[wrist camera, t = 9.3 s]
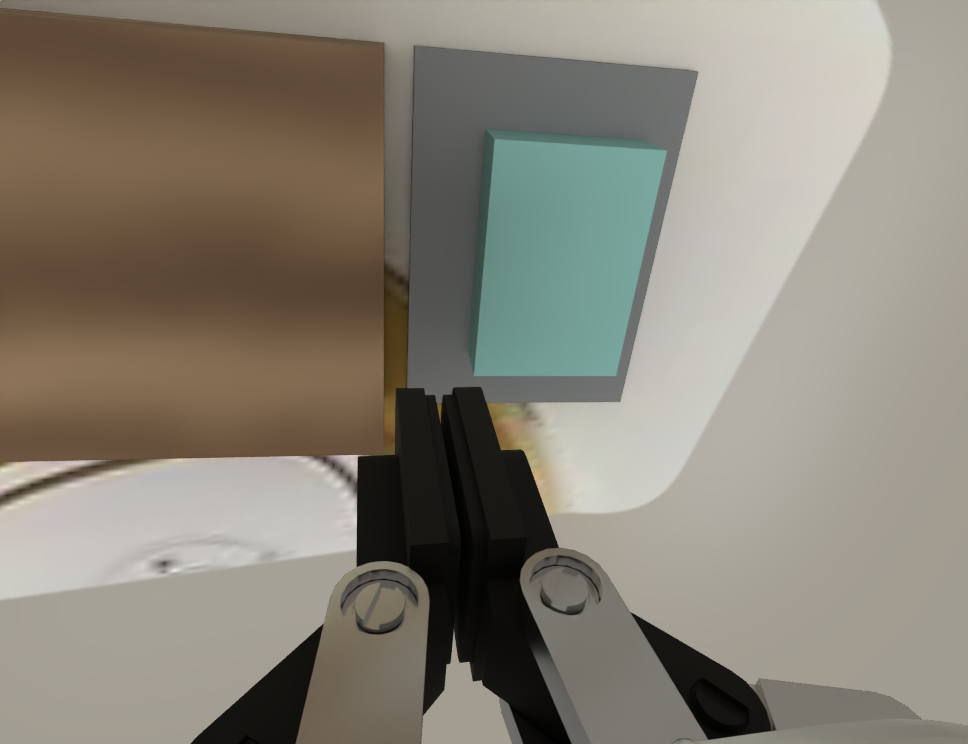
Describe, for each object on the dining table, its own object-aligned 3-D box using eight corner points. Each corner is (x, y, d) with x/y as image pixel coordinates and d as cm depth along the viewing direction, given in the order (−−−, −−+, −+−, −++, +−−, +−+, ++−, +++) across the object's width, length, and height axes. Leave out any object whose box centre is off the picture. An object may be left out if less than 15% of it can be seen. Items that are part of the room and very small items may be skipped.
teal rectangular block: (667, 150, 20) (645, 140, 22) (494, 139, 19) (485, 129, 21) (615, 376, 25) (601, 353, 27) (473, 375, 24) (468, 352, 26)
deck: (-351, -24, 16) (-543, -35, 13) (384, 42, 20) (383, 48, 16) (-132, 401, 23) (-220, 466, 20) (383, 398, 27) (383, 454, 23)
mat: (414, 45, 20) (415, 46, 20) (693, 70, 22) (698, 71, 21) (406, 398, 27) (406, 403, 27) (617, 397, 29) (620, 401, 28)
